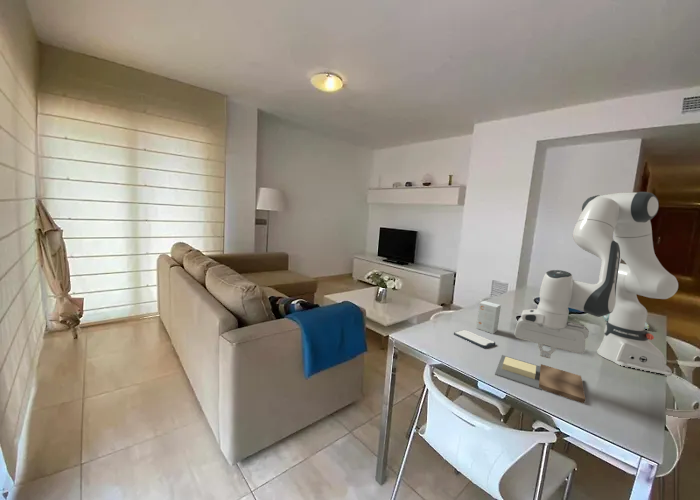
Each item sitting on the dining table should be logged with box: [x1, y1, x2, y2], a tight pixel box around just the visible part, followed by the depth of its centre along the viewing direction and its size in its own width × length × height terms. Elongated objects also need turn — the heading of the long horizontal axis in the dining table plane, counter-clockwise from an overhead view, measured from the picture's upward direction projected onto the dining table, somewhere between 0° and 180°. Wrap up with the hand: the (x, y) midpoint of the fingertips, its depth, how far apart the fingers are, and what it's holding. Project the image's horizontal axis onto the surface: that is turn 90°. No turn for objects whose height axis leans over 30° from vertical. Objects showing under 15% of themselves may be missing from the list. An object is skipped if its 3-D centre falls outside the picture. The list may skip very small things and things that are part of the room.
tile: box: [502, 356, 537, 379], centre depth 109 cm, size 10×7×2 cm
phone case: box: [453, 329, 496, 349], centre depth 135 cm, size 9×2×16 cm
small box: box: [475, 300, 502, 334], centre depth 147 cm, size 8×6×13 cm
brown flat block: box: [539, 364, 586, 404], centre depth 103 cm, size 12×17×2 cm
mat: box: [494, 354, 543, 391], centre depth 109 cm, size 14×18×1 cm
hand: (545, 356), depth 105 cm, fingers closed
